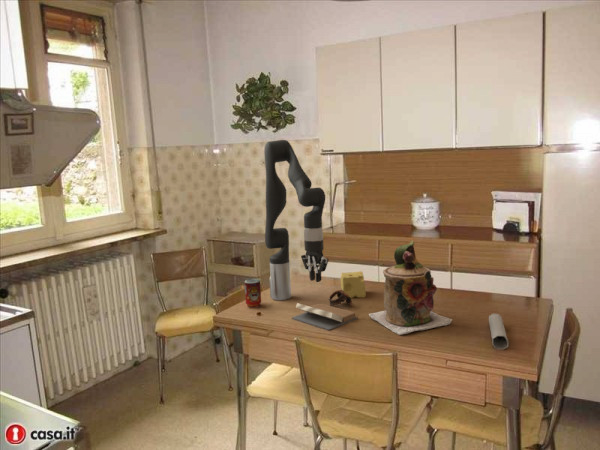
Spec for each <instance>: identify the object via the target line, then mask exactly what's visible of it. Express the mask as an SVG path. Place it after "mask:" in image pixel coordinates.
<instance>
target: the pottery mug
mask: <svg viewBox="0 0 600 450" xmlns="http://www.w3.org/2000/svg"><path fill="white" fill-rule="evenodd" d="M335 296H337V298H336V299H333V298H335ZM328 302H329V306H332V307H335V306H338V305H343V303H344V302H345V304H346V305H349V306H350V307H351V308H353V303H352V298H350V297H349V295H348V294H347V293H345V292H344V291H343V290H342V289H339V290H336V291H334V292H333V293H331V294H330V295H329V299H328Z"/></svg>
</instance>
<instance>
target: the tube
mask: <svg viewBox="0 0 600 450" xmlns="http://www.w3.org/2000/svg"><path fill="white" fill-rule="evenodd" d="M488 325H489V330H490V336H491V342H492V343H491V344H492V347H494V349H495V350H505V349H507V348H508V347H509V339H508V337H507V332H506V329H505V326H504V321H503V317H502V316H501V314H499V313H491V315H490V314H489V316H488Z"/></svg>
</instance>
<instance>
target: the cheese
mask: <svg viewBox="0 0 600 450" xmlns="http://www.w3.org/2000/svg"><path fill="white" fill-rule="evenodd" d="M340 274H341V275H340V290H343V291H344V292H345V293H347V294H348V295H349V297H350V299H352V298H366V288H365V287H366V283H365V277H364V272H363V271H354V272H353V271H351V272H341V273H340Z"/></svg>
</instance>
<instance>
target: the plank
mask: <svg viewBox="0 0 600 450" xmlns="http://www.w3.org/2000/svg"><path fill="white" fill-rule="evenodd" d="M295 309H298V310H301V311H303V312H304V313H305V312H309V313H312V314H315V315H319V316H322V317H325V318H329V319H332V320H336V321H339V322H342V320H343V317H341V316H339V315H336V314H334V313H331V312H327V311H324V310H320V309H317V308H313V307H311V306H308V305H306V304H302V303H298V302H297V303H296V306H295Z"/></svg>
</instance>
